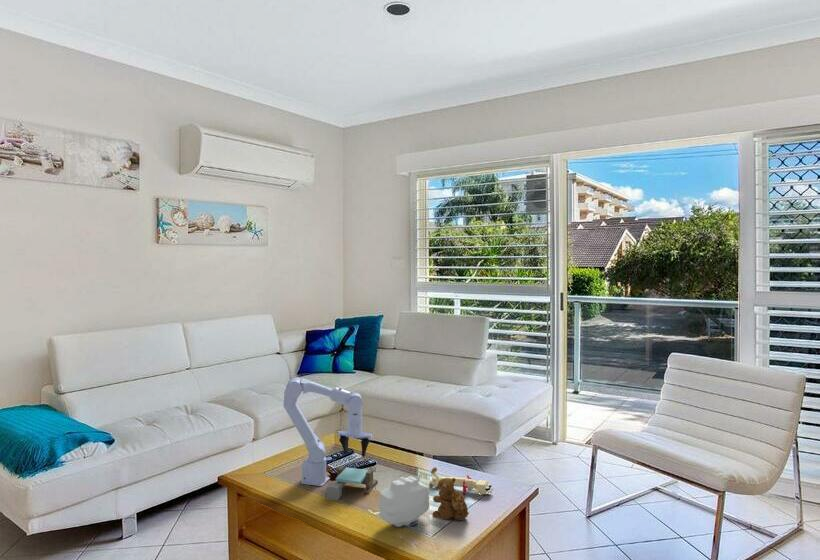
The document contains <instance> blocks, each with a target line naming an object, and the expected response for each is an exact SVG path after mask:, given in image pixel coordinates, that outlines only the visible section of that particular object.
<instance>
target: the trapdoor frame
mask: <svg viewBox="0 0 820 560" xmlns="http://www.w3.org/2000/svg"><path fill="white" fill-rule="evenodd" d="M345 468H346V467H345V465H340V466H339V467H338V468H337V470H336V471H337V472H336V478H337V477H338V476H339V475H340V474H341V472H342V471H343V470H344V469H345ZM367 470H368V471H367V472H366V484H365V488H364V494H370V493H371V491H372V490H373V489H374V488H375V487H376V485H377V484H378V479H375V478H374V469H372V468H369V469H367ZM336 482H338V481H336ZM339 483H342V488H343V487H344V486H345V485H346V484H347V483H346V482H339Z"/></svg>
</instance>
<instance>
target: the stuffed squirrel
mask: <svg viewBox="0 0 820 560" xmlns="http://www.w3.org/2000/svg"><path fill="white" fill-rule="evenodd" d="M455 480H456V479H455V478H452V479H450V478H443V479H441V480H440V481H439V482H438V485H437V487H435V491H438V490H439V491H438V495H434V496H433V498H432V500H433V502H434V503H437V504H438V503H440V505H439V506H438V508H437V510H434V511H433V512H432V516H433V517H435V518H438V519H440V520H449V519H453V520H455V521H458V520H460V521H461V519H462V520H464V519H466V518H467V517H468V516H469V514H470V513H469V510H468V505H467V503H466V501H465V498H464V496H463V493H462V492H458V491H456V490H455V486H454V482H455ZM456 519H457V520H456Z"/></svg>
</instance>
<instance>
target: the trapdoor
mask: <svg viewBox="0 0 820 560" xmlns="http://www.w3.org/2000/svg"><path fill="white" fill-rule="evenodd" d="M368 470H369V469H363V468H356V467H345V469H344V470H343V471H342V472H341V474H340V475H339V476H338V477H337V476H336V477H335V482H337V481H338V482H346V484H354V485H361V484H362V485H363V484H364V485H366V472H367V471H368Z"/></svg>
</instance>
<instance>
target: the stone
mask: <svg viewBox="0 0 820 560" xmlns="http://www.w3.org/2000/svg"><path fill="white" fill-rule="evenodd" d="M342 488H343V487H342V483H339V482H337V481H330V482H329V483H328V484H327V486H326V500H328V499H331V501H339V500H340V498H341V497H342V495H343V493H342V492H343V489H342Z"/></svg>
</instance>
